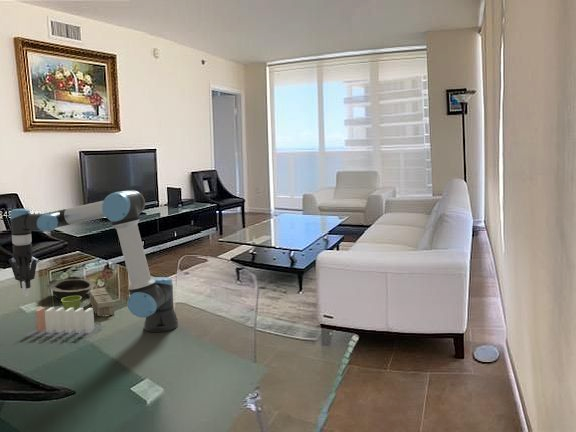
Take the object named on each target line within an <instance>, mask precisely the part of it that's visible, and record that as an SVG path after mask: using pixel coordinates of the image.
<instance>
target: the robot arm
mask: <svg viewBox="0 0 576 432" xmlns="http://www.w3.org/2000/svg"><path fill="white" fill-rule="evenodd" d="M145 207H146V199H145V198H144V196H143V194H142V193H140V192H139V191H137V190H133V189H127V190H122V191H115V192H111V193H110V194H108V195H106V197H105V198H104V199H103V200H100V201H95V202H92V203H87V204H83V205H77V206H73V207H69V208H64V209H60V210H59V209H58V210H55V211H50V212H45V213H31V212H30V209H29V208H14V209H11V210H10V228H11V243H12V253H13V255H12V258H9V259H7V260H8V263H9V264H10V267H11V270H12V273H13V276H14V280H15V281H18V282H19V285H20V286H19V287H20V289H22V290H21V291H22V292H21V293H22V296H23V297H27V296H29V295H30V288H31V286H32V285H31V281H32V280H34V279H35V277H36V271H37V265H38V263H39V261H40V259H39V258H36V257H34V255H33V243H32V240H33V239H32V232H44V233H46V232H53V231H55V230H56V229H57V228H61V227H65V226H71V225H74V224H79V223H84V222H88V221H93V220H94V221H95V220H98V219H103V218H106V219H108V221H110V224H111V227H112V228H114V229H115V230H116V232H117V236H118V240H119V243H120V244H119V245H120V247H121V252H122V255H123V260H124V263H125V267H126V271H127V273H128V274H127V275H128V277H129V282H130V284H129V286H128V288H127V289H128V294H129V297H128V298H127V302H126V306H127V309H128V310H129V312H130V313H131V314H132V315H133V316H135V317H137V318H140V319H141V318H145V320H144V323H143V325H144V326H143V328H144V330H145V331H147V332H150V333H164V332H169V331H172V330H174V329H176V328H178V326H179V320H178V316H177V314H176V312H175V310H174V285H173V278H170V277H165V276H164V277H163V276H157V277H151V272H150V269H149V265H148V261H147V257H146V253H145V249H144V246H143V241H142V237H141V233H140V230H139V225H138V224H139V223H140V220H141V219H140V214H141V213H142V212H143V211H144V210H145Z"/></svg>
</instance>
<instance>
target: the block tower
mask: <svg viewBox="0 0 576 432" xmlns="http://www.w3.org/2000/svg"><path fill="white" fill-rule="evenodd" d="M88 292H89V304H90V303H91V304H90V306H91V305H92V306H93V308H94V310H95V311H94V310H93V311H94V313H95V312H96V313H97V315H98V316H103V315H104V316H103V317H106V316H105V315H112V316H114V315H115V301H114V299H112V297H111V296H110V294H108V292H107V289H105V288H104V287H99V288H94V289H92V290H90V289H89V291H88ZM92 306H91V307H92ZM96 313H95V314H96ZM97 315H96V316H97ZM98 316H97V317H98Z"/></svg>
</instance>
